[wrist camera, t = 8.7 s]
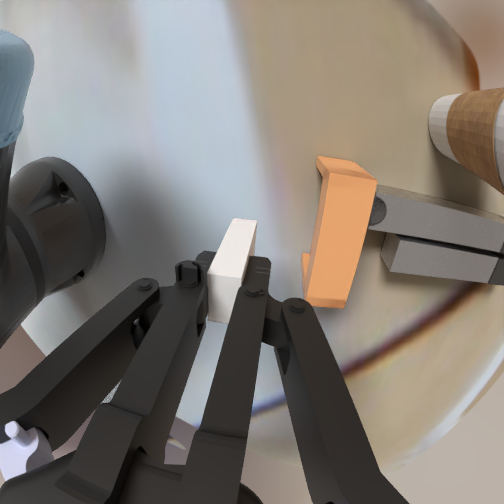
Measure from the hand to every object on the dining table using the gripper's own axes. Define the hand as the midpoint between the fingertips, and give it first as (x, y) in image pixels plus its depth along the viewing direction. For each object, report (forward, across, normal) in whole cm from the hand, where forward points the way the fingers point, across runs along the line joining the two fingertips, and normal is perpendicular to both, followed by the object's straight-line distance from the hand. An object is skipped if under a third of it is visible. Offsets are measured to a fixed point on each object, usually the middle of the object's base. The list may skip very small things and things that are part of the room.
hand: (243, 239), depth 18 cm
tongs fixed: (+7, +19, +2) cm, 20 cm away
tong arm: (+7, +21, -2) cm, 22 cm away
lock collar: (+7, +6, 0) cm, 9 cm away
